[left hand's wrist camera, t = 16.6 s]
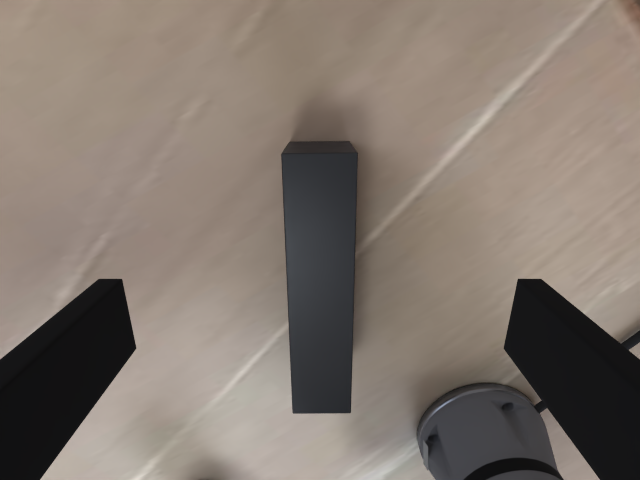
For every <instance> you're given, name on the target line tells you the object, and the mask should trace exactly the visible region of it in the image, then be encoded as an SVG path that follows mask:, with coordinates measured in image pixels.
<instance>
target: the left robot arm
mask: <svg viewBox="0 0 640 480" xmlns="http://www.w3.org/2000/svg"><path fill="white" fill-rule="evenodd" d="M639 342H640V331H638V332H637V333H636V334H634V335H633V336H632V337H630V338H629V339H627V340H626V341H624V342H623V343H621V344H620V343H619V342H618V341H616V340H615V339H614V338H613V337H611V336H610V335H609V334H608V333H607V332H605V331H604V330H603V329H602V328H600V327H599V326H598V325H597V324H596V323H594V322H593V321H592V320H591V319H589V318H588V317H587V316H586V315H585V314H583V313H582V312H581V311H580V310H578V309H577V308H576V307H575V306H574V305H572V304H571V303H570V302H569V301H567V300H566V299H565V298H564V297H563V296H561V295H560V294H559V293H558V292H556V291H555V290H554V289H553V288H552V287H550V286H549V285H548V284H547V283H545V282H544V281H543V280H542V279H518V281H517V286H516V291H515V296H514V301H513V306H512V311H511V315H510V320H509V325H508V330H507V335H506V340H505V345H504V349H505V351H506V352H507V354H508V355H509V356H510V358H511V359H512V360H513V362H514V363H515V364H516V366H517V367H518V369H519V370H520V371H521V373H522V374H523V375H524V377H525V378H526V379H527V381H528V382H529V384H530V385H531V386H532V388H533V389H534V390H535V392H536V393H537V394H538V396H539V397H540V398H541V400H542V401H540V402H539V403H538V404H536V405H535V406H534V404H533V403H532V402H531V400H530V399H529V398H528V397H527V396H525V395H524V394H523V393H521V392H520V391H518V390H516V389H514V388H511V387H508V386H505V385H500V384H491V383H482V384H473V385H468V386H464V387H461V388H458V389H456V390H453V391H451V392H449V393H447V394H445V395H444V396H442V397H441V398H439V399H438V400H436V401H435V402H434V403H433V404H432V405H431V406H430V407H429V408H428V409H427V411H426V412H425V413H424V415H423V416H422V418H421V420H420V423H419V426H418V430H417V441H418V445H419V449H420V452H421V455H422V458H423V460H424V465H425V467H426V468H427V470H428V469H429V471H430V472H431V474H432V475H433V477H434V478H435V479H436V480H563V478H562V477H561V475H560V473H559V472H558V470H557V466H556V463H555V459H554V455H553V451H552V448H551V444H550V440H549V436H548V433H547V429H546V426H545V423H544V421H543V419H542V417H541V415H540V412H542V411H543V410H545V409H546V408H548V409H549V411H550V412H551V413H552V415H553V416H554V418H555V419H556V420H557V422H558V423H559V424H560V426H561V427H562V428H563V430H564V431H565V433H566V434H567V435H568V437H569V438H570V439H571V441H572V442H573V443H574V445H575V446H576V448H577V449H578V450H579V452H580V453H581V454H582V456H583V457H584V458H585V460H586V461H587V463H588V464H589V465H590V467H591V468H592V469H593V471H594V472H595V473H596V475H597V476H598V477H599V479H600V480H640V359H638V358H637V357H636V356H635V355H634V354H632V353H631V352H630V351H629V349H631V348H632V347H634V346H635V345H636V344H638V343H639ZM135 349H136V345H135V340H134V335H133V330H132V325H131V320H130V315H129V311H128V306H127V301H126V296H125V291H124V286H123V281H122V279H98V280H97V281H96V282H95V283H93V284H92V285H91V286H90V287H88V288H87V289H86V290H85V291H84V292H82V293H81V294H80V295H79V296H77V297H76V298H75V299H74V300H73V301H71V302H70V303H69V304H68V305H66V306H65V307H64V308H63V309H62V310H60V311H59V312H58V313H57V314H55V315H54V316H53V317H52V318H51V319H49V320H48V321H47V322H46V323H44V324H43V325H42V326H41V327H40V328H38V329H37V330H36V331H35V332H33V333H32V334H31V335H30V336H29V337H27V338H26V339H25V340H24V341H22V342H21V343H20V344H19V345H18V346H16V347H15V348H14V349H13V350H11V351H10V352H9V353H8V354H6V355H5V356H4V357H3V358H2V359H0V480H40V479H41V477H42V476H43V475H44V473H45V472H46V471H47V469H48V468H49V467H50V465H51V464H52V462H53V461H54V460H55V458H56V457H57V456H58V454H59V453H60V452H61V450H62V449H63V448H64V446H65V445H66V443H67V442H68V441H69V439H70V438H71V437H72V435H73V434H74V433H75V431H76V430H77V428H78V427H79V426H80V424H81V423H82V422H83V420H84V419H85V418H86V416H87V415H88V413H89V412H90V411H91V409H92V408H93V407H94V405H95V404H96V403H97V401H98V400H99V398H100V397H101V396H102V394H103V393H104V392H105V390H106V389H107V388H108V386H109V385H110V384H111V382H112V381H113V379H114V378H115V377H116V375H117V374H118V373H119V371H120V370H121V369H122V367H123V366H124V364H125V363H126V362H127V360H128V359H129V358H130V356H131V355H132V354H133V352H134V351H135Z"/></svg>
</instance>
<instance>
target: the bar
mask: <svg viewBox="0 0 640 480" xmlns="http://www.w3.org/2000/svg"><path fill="white" fill-rule="evenodd" d="M281 157H282V180H283V203H284V226H285V249H286V272H287V294H288V317H289V340H290V363H291V386H292V409H293V413H351V387H352V349H353V312H354V274H355V236H356V199H357V161H358V153H357V152H356V150H355V149H354V147H353V146H352V144H351V143H350V141H317V142H289V144H288V145H287V146H286V148H285V149H284V151H283V152H282V154H281Z"/></svg>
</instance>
